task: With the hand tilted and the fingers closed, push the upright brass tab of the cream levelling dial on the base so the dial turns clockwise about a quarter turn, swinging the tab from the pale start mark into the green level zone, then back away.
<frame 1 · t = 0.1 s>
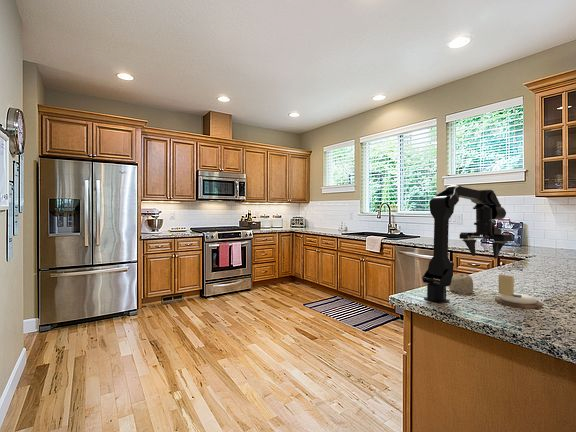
hand: (484, 257, 128), 15 cm above the countertop, tool pointing down, fingers open, 9 cm apart
dial: (516, 288, 112), point 5 cm above the countertop, hinge at 0.0°
base: (517, 302, 112), on the countertop
sponge: (461, 291, 131), on the countertop
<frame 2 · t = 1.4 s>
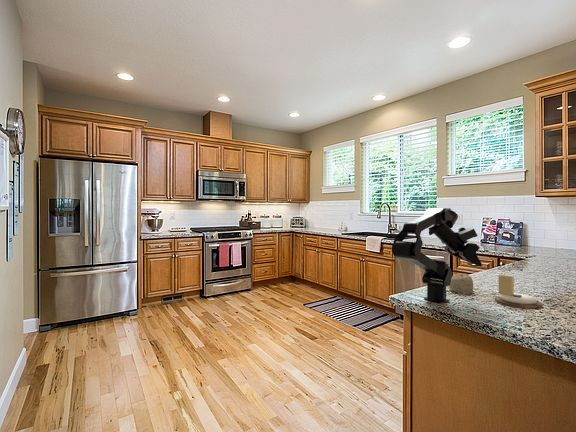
hand: (477, 264, 117), 14 cm above the countertop, tool tilted 45°, fingers open, 6 cm apart
nothing on the countertop moved.
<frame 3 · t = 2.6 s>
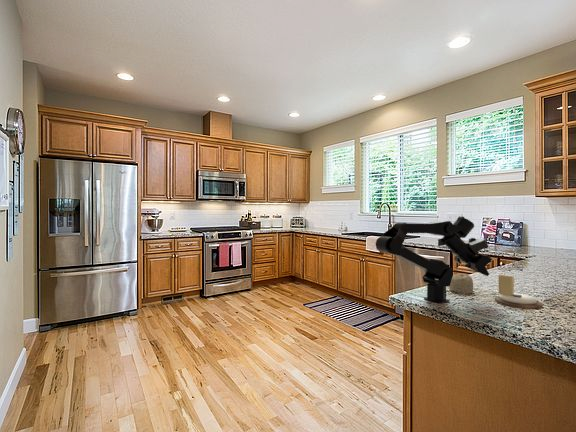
hand: (488, 275, 117), 9 cm above the countertop, tool tilted 45°, fingers closed
nothing on the countertop moved.
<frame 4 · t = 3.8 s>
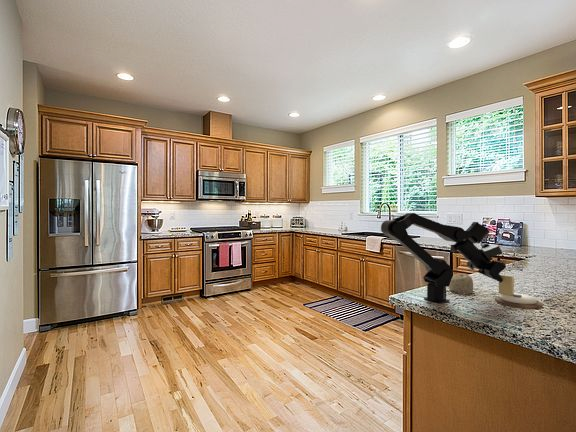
hand: (501, 281, 116), 7 cm above the countertop, tool tilted 45°, fingers closed
dial: (516, 288, 112), point 5 cm above the countertop, hinge at -1.1°, touching gripper
everything else where it was.
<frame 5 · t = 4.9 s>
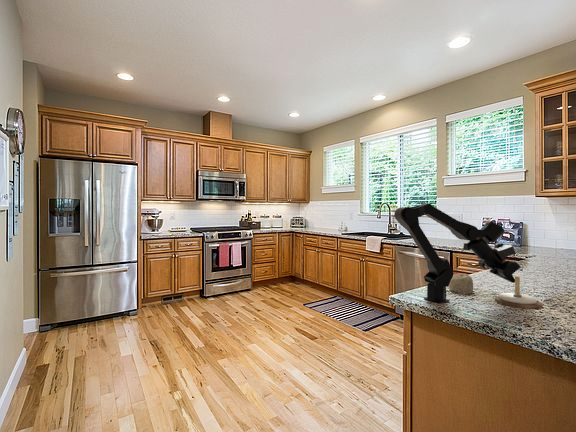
hand: (513, 281, 115), 7 cm above the countertop, tool tilted 45°, fingers closed
dial: (517, 288, 112), point 5 cm above the countertop, hinge at -66.7°, touching gripper
everything else where it was.
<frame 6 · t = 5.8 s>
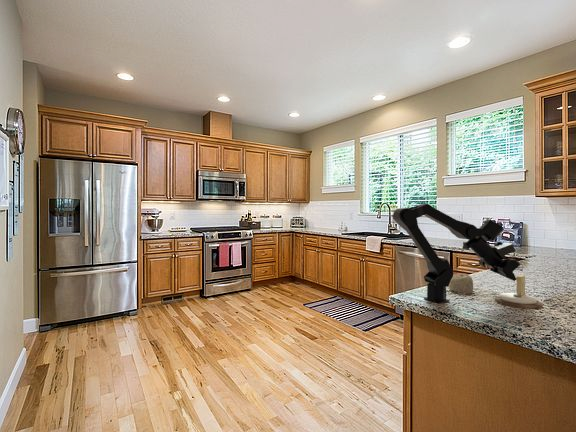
hand: (514, 279, 115), 8 cm above the countertop, tool tilted 45°, fingers closed
dial: (517, 288, 112), point 5 cm above the countertop, hinge at -83.6°
everything else where it was.
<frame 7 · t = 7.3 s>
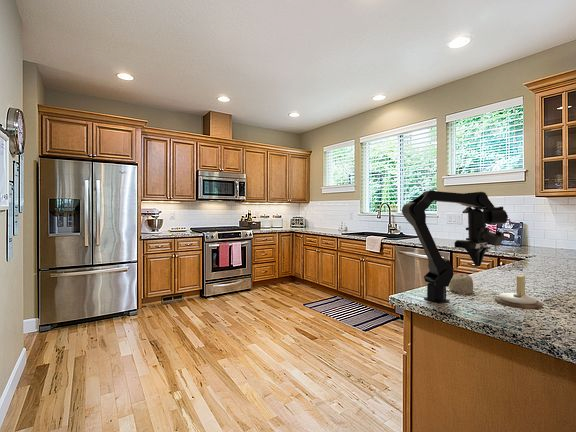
hand: (477, 265, 117), 13 cm above the countertop, tool pointing down, fingers closed
nothing on the countertop moved.
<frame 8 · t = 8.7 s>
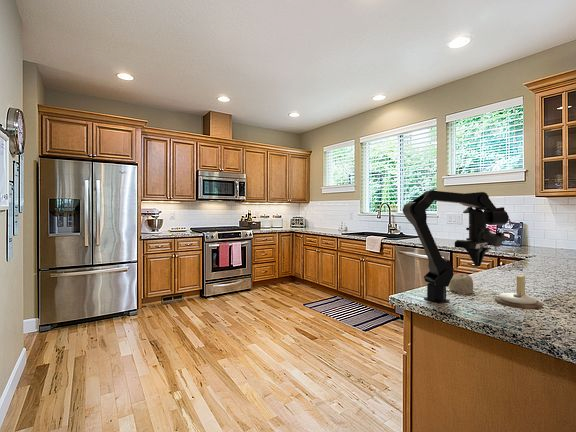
hand: (477, 265, 117), 13 cm above the countertop, tool pointing down, fingers closed
nothing on the countertop moved.
at the end: dial at -84° (first picture: +0°) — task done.
